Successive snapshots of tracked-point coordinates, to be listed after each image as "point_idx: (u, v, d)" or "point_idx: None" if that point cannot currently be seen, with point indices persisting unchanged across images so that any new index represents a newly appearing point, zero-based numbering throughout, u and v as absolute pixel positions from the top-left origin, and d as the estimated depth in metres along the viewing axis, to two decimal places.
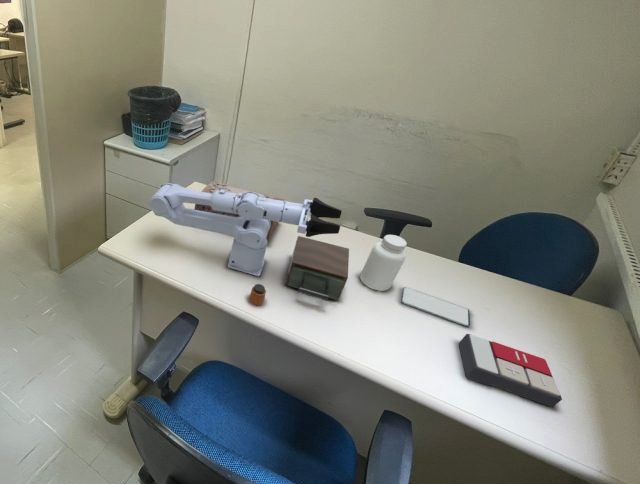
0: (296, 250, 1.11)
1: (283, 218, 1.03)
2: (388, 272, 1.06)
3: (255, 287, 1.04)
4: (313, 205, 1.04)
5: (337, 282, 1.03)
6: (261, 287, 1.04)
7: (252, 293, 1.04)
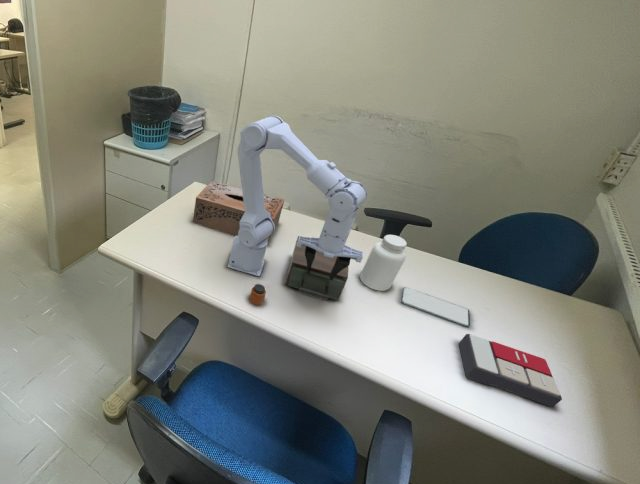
0: (296, 250, 1.11)
1: None
2: (388, 272, 1.06)
3: (255, 287, 1.04)
4: (338, 259, 0.96)
5: (337, 282, 1.03)
6: (261, 287, 1.04)
7: (252, 293, 1.04)
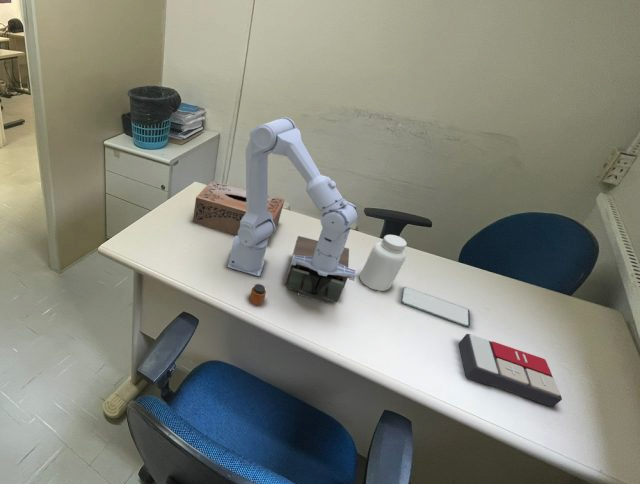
0: (296, 250, 1.11)
1: (316, 247, 0.97)
2: (388, 272, 1.06)
3: (255, 287, 1.04)
4: (321, 275, 0.98)
5: (337, 285, 1.02)
6: (261, 287, 1.04)
7: (252, 293, 1.04)
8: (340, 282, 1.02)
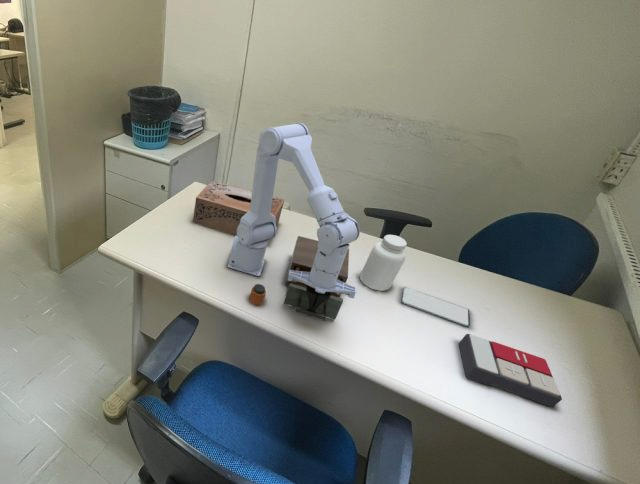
0: (296, 250, 1.11)
1: (313, 263, 0.92)
2: (388, 272, 1.06)
3: (255, 287, 1.04)
4: None
5: (336, 302, 0.97)
6: (261, 287, 1.04)
7: (252, 293, 1.04)
8: (339, 299, 0.97)
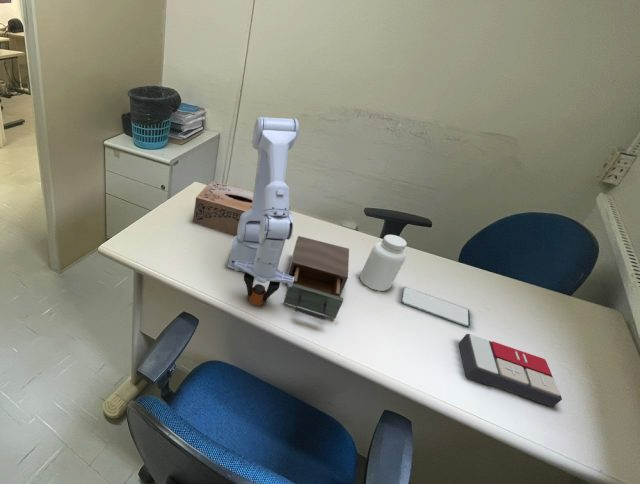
0: (296, 250, 1.11)
1: None
2: (388, 272, 1.06)
3: (255, 287, 1.04)
4: (269, 283, 1.00)
5: (336, 301, 0.97)
6: (261, 287, 1.04)
7: (252, 293, 1.04)
8: (339, 298, 0.97)
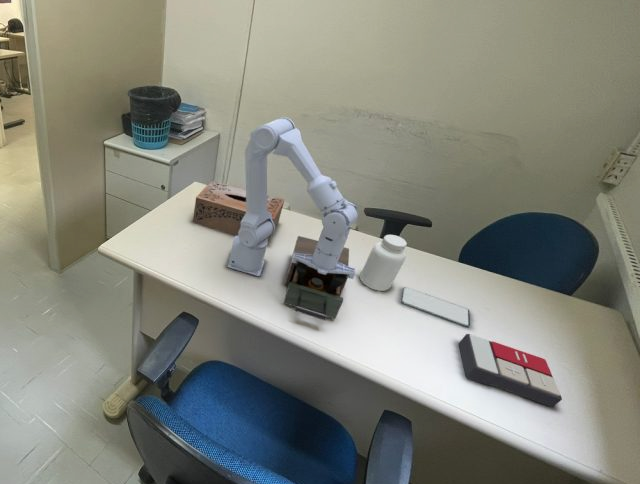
0: (296, 250, 1.11)
1: (316, 246, 0.98)
2: (388, 272, 1.06)
3: (312, 281, 1.03)
4: (334, 276, 0.99)
5: (336, 301, 0.97)
6: (318, 281, 1.03)
7: (309, 287, 1.03)
8: (339, 298, 0.97)
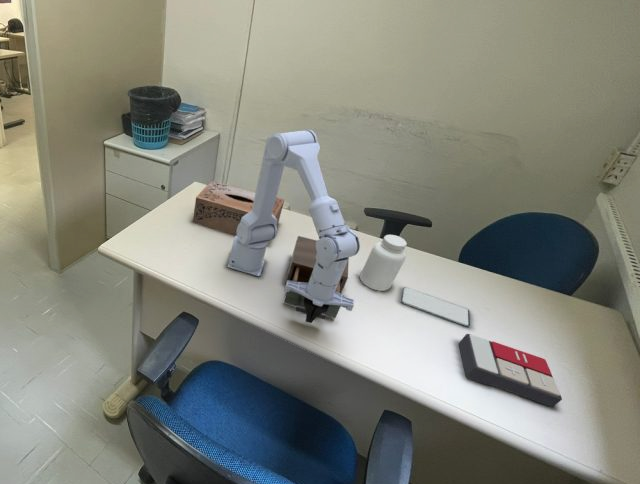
0: (296, 250, 1.11)
1: (311, 274, 0.90)
2: (388, 272, 1.06)
3: None
4: None
5: None
6: None
7: None
8: None
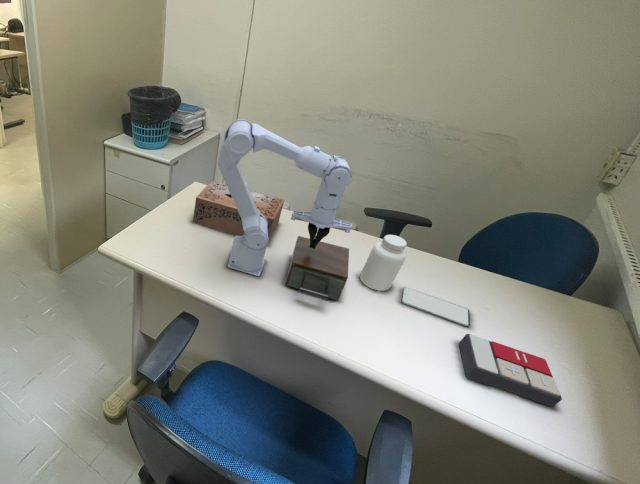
0: (296, 250, 1.11)
1: (314, 202, 1.04)
2: (388, 272, 1.06)
3: None
4: (319, 228, 1.05)
5: (337, 282, 1.03)
6: None
7: (312, 270, 1.09)
8: (340, 280, 1.03)
